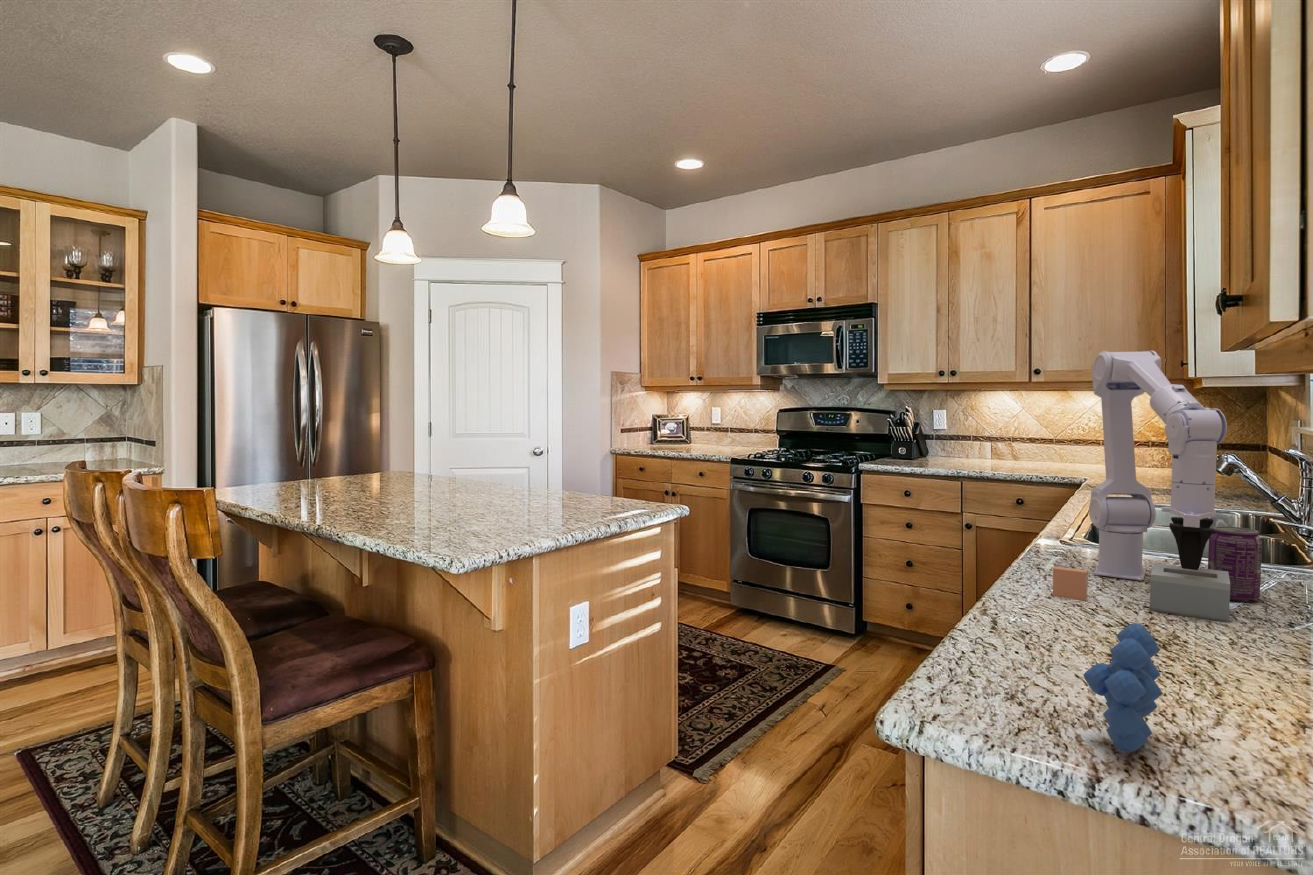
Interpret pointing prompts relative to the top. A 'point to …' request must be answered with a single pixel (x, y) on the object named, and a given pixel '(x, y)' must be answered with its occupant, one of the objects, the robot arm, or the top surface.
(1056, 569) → the block
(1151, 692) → the grapes
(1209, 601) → the coin box
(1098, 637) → the top surface
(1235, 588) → the beverage can
